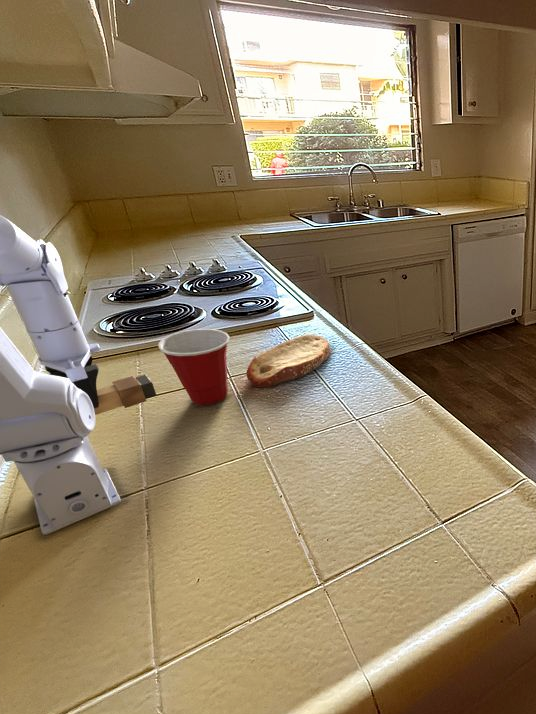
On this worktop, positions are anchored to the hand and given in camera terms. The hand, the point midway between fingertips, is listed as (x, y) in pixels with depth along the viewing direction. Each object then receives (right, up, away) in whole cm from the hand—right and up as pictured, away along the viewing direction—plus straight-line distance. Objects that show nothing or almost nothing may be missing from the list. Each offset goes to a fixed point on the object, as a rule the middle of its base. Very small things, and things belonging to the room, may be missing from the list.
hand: (88, 405), depth 73 cm
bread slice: (+21, +6, +26) cm, 34 cm away
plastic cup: (+12, 0, +13) cm, 18 cm away
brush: (+2, -1, +2) cm, 3 cm away
